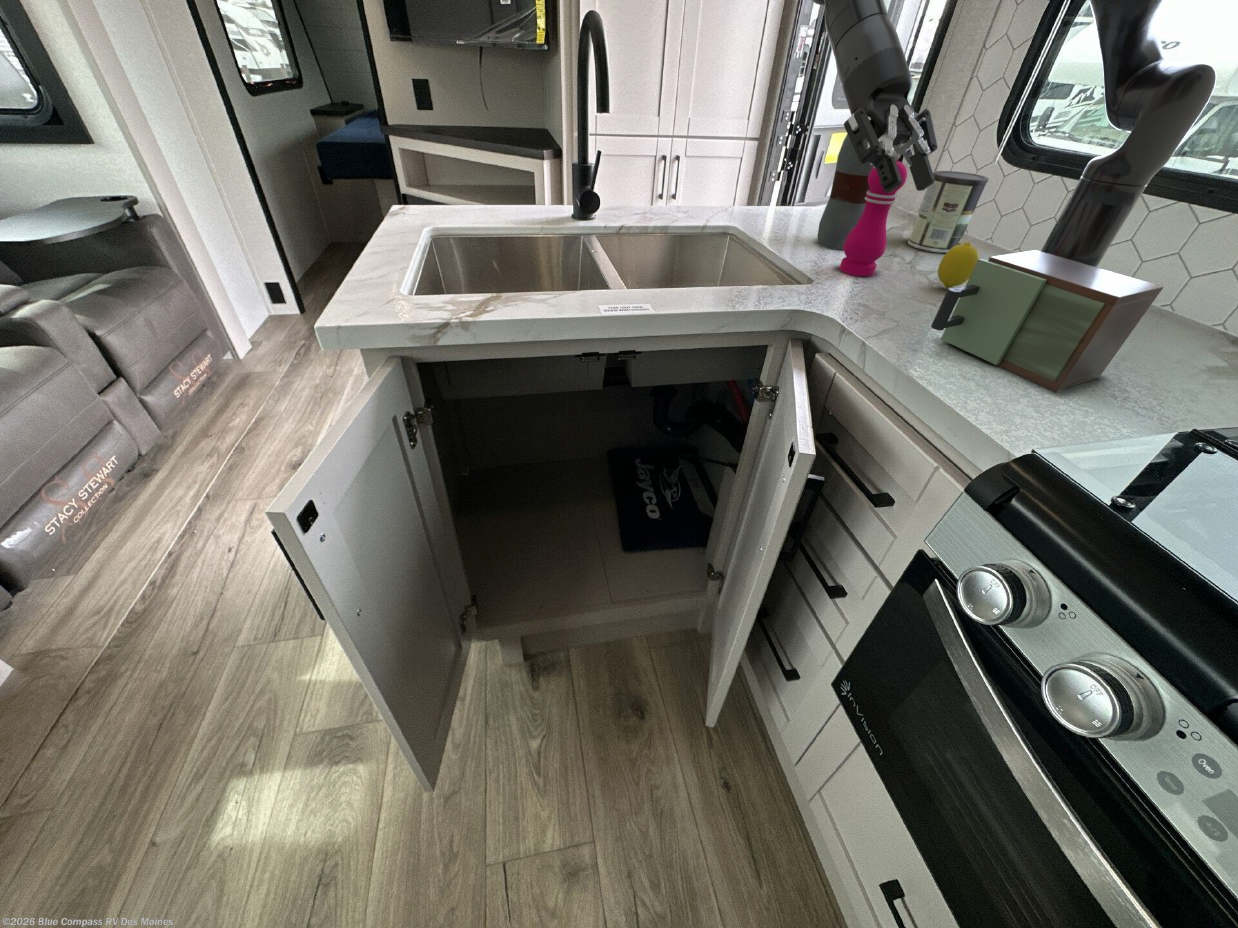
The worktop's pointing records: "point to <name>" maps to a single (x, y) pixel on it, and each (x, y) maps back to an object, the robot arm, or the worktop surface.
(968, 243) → the lemon
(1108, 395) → the worktop surface
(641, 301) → the worktop surface
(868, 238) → the pepper mill
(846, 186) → the bottle
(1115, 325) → the cabinet
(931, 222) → the coffee can
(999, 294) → the door
